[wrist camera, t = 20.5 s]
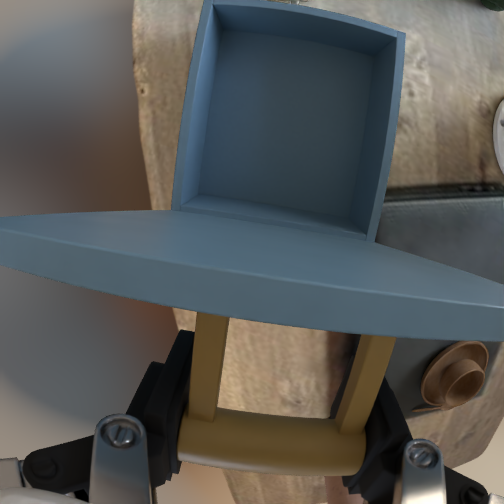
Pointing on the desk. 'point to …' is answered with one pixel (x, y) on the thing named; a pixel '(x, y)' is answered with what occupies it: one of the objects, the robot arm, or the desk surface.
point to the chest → (289, 117)
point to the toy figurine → (494, 4)
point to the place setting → (454, 375)
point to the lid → (261, 313)
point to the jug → (296, 1)
